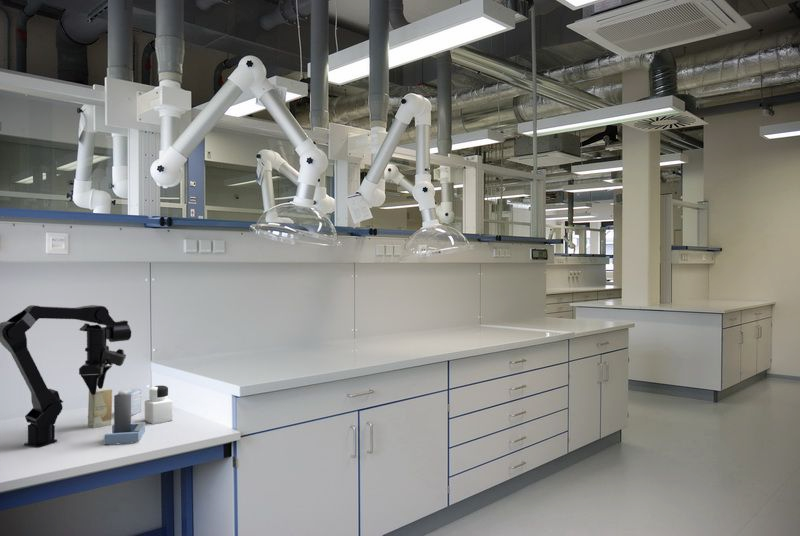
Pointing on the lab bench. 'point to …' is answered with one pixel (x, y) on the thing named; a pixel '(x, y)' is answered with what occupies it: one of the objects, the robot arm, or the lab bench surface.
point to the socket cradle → (126, 434)
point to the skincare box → (100, 408)
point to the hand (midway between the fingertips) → (97, 391)
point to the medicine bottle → (158, 405)
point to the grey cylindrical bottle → (122, 412)
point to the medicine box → (135, 400)
